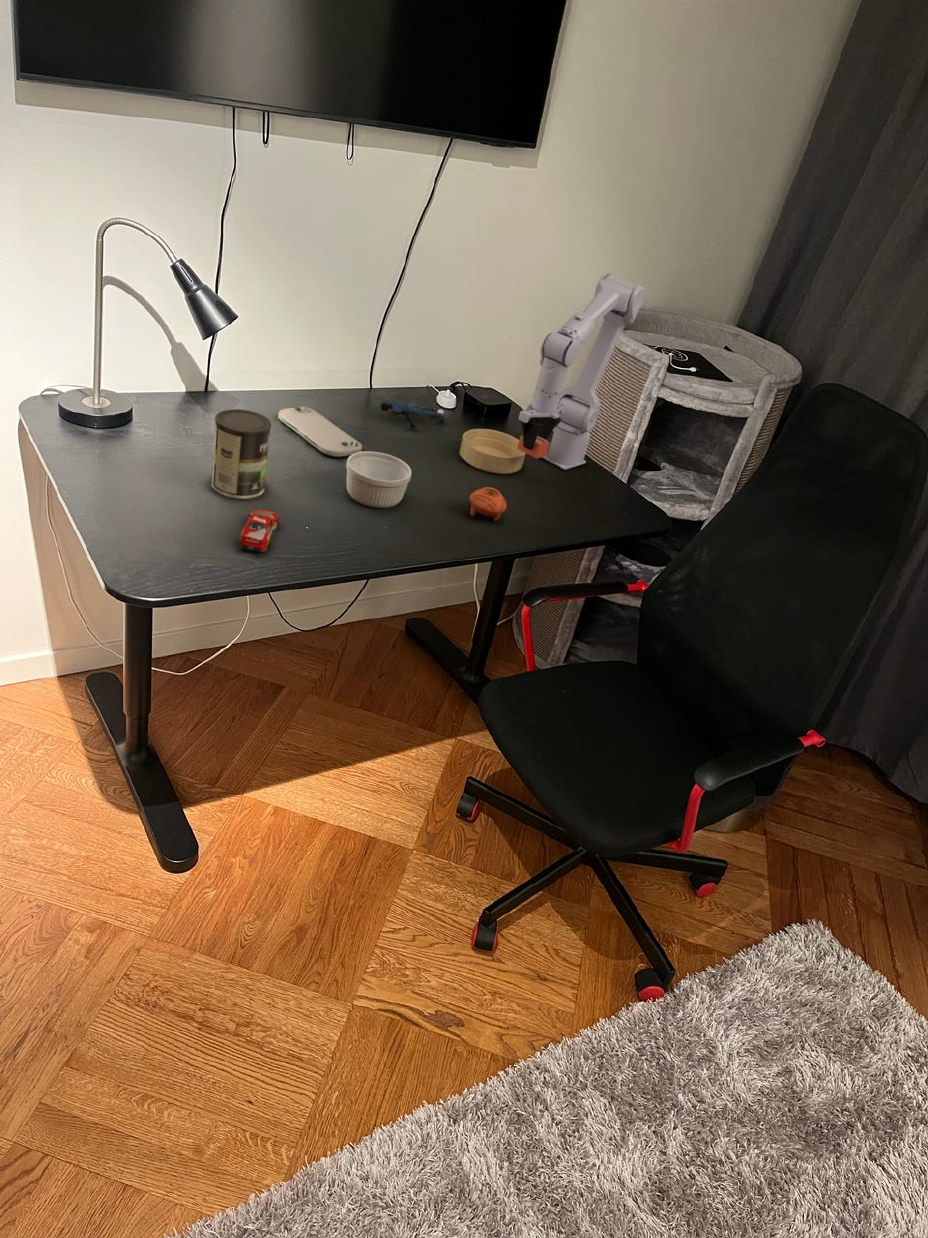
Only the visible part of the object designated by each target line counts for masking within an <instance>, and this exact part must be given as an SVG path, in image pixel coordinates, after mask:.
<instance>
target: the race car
mask: <svg viewBox="0 0 928 1238" xmlns="http://www.w3.org/2000/svg"><path fill="white" fill-rule="evenodd" d="M246 516H247V517H248V518H247V521H246V523H245V524H244V527H243V529H242V531H241V533H240V536H239V541H238V542H239V543H238V544H239V545H238V546H239V547H240V548H242V549H243V550H244V549H245V550H249V551H254V552H258V553H260V552H266V551H267V550H269V548H270V544H272V543H271V542H272V540H273V538H274V537H275V536H274V535H275V534H276V532H277V531H276V530H277V529H278V526H279V521H280V517H279V515H278V514H277V513H276V512H274V511H271V510H267V509H255V510H253V511H251V513H250V514H248V513H247V514H246Z"/></svg>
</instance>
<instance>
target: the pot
mask: <svg viewBox="0 0 928 1238" xmlns="http://www.w3.org/2000/svg"><path fill="white" fill-rule="evenodd" d="M469 503H470V505H471V507H470V516H471V517H475V515H476V514H477V513H478V514H479V515H483V516H486V517H493V521H494V522H497V521H499V518H500V517H501V516H502V514H503V513H504V512H505V511H506V510H507V507H508V506H507V501H506V499H505V497H504V495H502V494H501V491H500V490H498V489H497V488H494V487H488V486H484V487H483V488H479V489H476V490H474V491H473V492H472V493H471V494H470V496H469Z"/></svg>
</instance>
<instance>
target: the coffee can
mask: <svg viewBox="0 0 928 1238" xmlns="http://www.w3.org/2000/svg"><path fill="white" fill-rule="evenodd" d="M214 423H215V426H214V441H213V458H212V459H213V460H212V474H211V475H212V476H211V481H210V485H211V488H212V489H213V491H215V492H216V493H217V494H219V495H222V496H224V497H227V498H230V499H238V500H239V499H240V500H249V499H254V498H258V497H260V496H261V495H262V494H263V493H264V492H265V488H266V487H265V485H266V484H265V483H266V473H267V465H268V463H267V462H268V452H269V444H270V443H269V442H270V434H271V433H270V432H271V428H272V422H271V420H270V419H269V418H268V417H266V415H263V414H261V413H259V412H256V411H252V410H248V409H247V410H246V409H238V408H237V409H235V408H234V409H233V408H232V409H225V410H222V411H219V412H217V413H216V414H215V416H214Z"/></svg>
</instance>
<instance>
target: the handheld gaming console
mask: <svg viewBox="0 0 928 1238" xmlns="http://www.w3.org/2000/svg"><path fill="white" fill-rule="evenodd" d="M277 418H278V419H279V420H280V422H281V423H282V424H283V425H285V426H286V427H287V428H288V429H290V431H293V432H294V433H295V434H296V435H298V436H299V437H300V438H302V439H303V440H304V441H305V442H307V443H308V444H309V445H311V446H312V447H313V448H315V449H316V450H317V451H318V452H320V453H321V454H323V455H325V456H326V457H329V458H333V459H343V458H349V457H350V456H351V455H352V454H354V453H358V452H364V445H363V443H362V442H360V441H358V440H356V439H354V438H353V437H352V436H351V435H349V433H346V432H345V431H344V430H342V429H341V428H340V427H338V426H337V425H335V424H334V423H332V422H331V421H330V420H328V419H327V418H326V417H324V416H323V415H321V414H320V413H319V412H318V411H317V410H316V409H314V408H311V407H307V406H296V407H289V408H288V407H287V408H283V409H281V410H279V412H278V416H277Z"/></svg>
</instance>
